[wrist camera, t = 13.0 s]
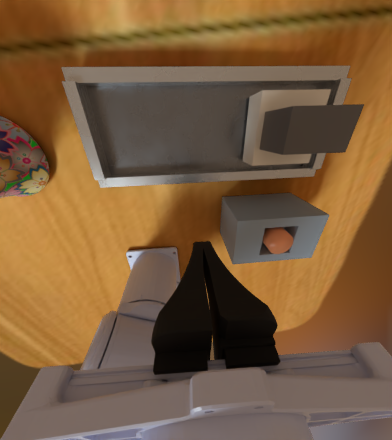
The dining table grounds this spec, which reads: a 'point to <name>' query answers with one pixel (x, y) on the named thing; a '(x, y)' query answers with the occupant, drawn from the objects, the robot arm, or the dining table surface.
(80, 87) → the grey metal tray
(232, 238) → the end cabinet
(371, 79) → the dining table surface
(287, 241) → the button
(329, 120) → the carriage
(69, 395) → the robot arm
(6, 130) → the floral patterned vase
